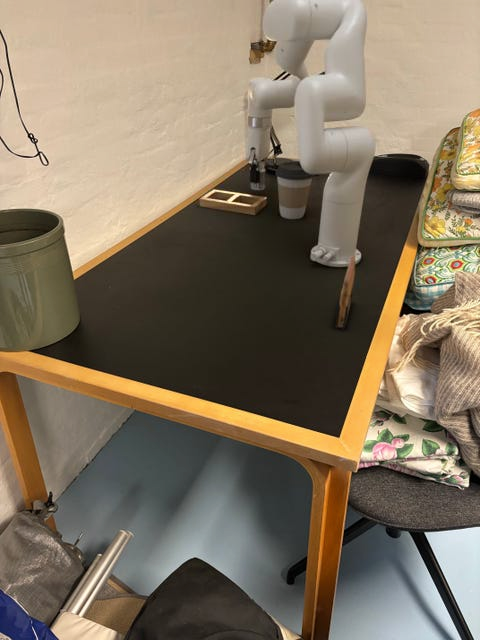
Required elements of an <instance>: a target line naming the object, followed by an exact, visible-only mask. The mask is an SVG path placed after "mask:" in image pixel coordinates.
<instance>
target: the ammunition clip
mask: <svg viewBox="0 0 480 640" xmlns="http://www.w3.org/2000/svg"><path fill="white" fill-rule="evenodd" d="M355 270H356V264H355V255H354V254H353V255H352V256H351V259H350V262H349V266H348V267H347V269H346V273H345V276H344V280H343V284H342V289H341V291H340V297H339V302H338V307H337V312H336V313H337V314H336V321H335V328H336V329H341V330H346V325H347V322H348V318H349V315H350V309H351V304H352V300H353V293H354V288H355V287H354V286H355V274H356V272H355Z"/></svg>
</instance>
